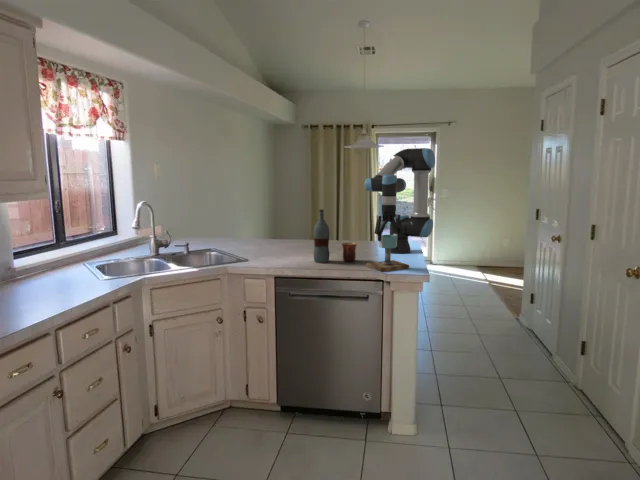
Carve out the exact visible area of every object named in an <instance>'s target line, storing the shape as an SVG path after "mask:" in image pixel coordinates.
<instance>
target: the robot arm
mask: <svg viewBox="0 0 640 480" xmlns="http://www.w3.org/2000/svg"><path fill="white" fill-rule="evenodd" d="M435 164H436V157H435V153H434V151H433V150H432V148H428V147H420V148H418V147H417V148H405V149H402V150H399V151H398V152H396V153H395V154H393V155H392V156H391V157H390V158H389V160H388V163H387V164H385V165H384V166H383V167H382V169H380V170H379V171H378V173H377V174H375V175H374V177H367V178H366V179H365V180H364V189H365V191H367V192H372V193H373V192H377V193H378V192H381V214H380V215H376V223H375V227H374V234H375V235H377V242H378V248H382V249H384V248H383V235H384V234H383V232H384V230H385V228H386V224H388V223H389V235H395V236H397V242H396V248H391V254H401V255H402V254H410V253H411V246H410V243H409V237H415V238H428V237H430V236H431V233H432V232H433V227H434V220H433V219H432V218H431V215H430V214H429V211H428V206H429V205H428V204H429V178H430V177H429V174H430V173H431V172H432V169H433V168H435ZM402 169H411V172H412V173H413V175H414V177H413V204H412V205H413V206H412V207H413V208H412V209H413V212H412V214H411V215H409V214H408V215H407V214H403V215H401V214H398V213H396V211H397V205H396V204H397V193H401V192H403V191H405V190H406V187H407V182H406V181H405V180H404V179H403V178H400V177H397V175H396V174H397V172H399V171H401V170H402Z"/></svg>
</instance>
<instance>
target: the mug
mask: <svg viewBox="0 0 640 480" xmlns="http://www.w3.org/2000/svg"><path fill="white" fill-rule="evenodd" d="M357 245H358V243H356V242H351V241H350V242H342V243H341V247H342V260H343V262H344V263H353V262H354V263H355V262H356V257H357V255H356V254H357V252H356V251H357Z"/></svg>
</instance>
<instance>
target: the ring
mask: <svg viewBox="0 0 640 480" xmlns="http://www.w3.org/2000/svg"><path fill="white" fill-rule="evenodd" d="M382 235H383V248H382V249H385V248H396V242H397V236H395V235H390V234H382Z"/></svg>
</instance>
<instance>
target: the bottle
mask: <svg viewBox="0 0 640 480" xmlns="http://www.w3.org/2000/svg"><path fill="white" fill-rule="evenodd" d="M318 210H319V211H318V214H319V215H318V220H317V222H316V224H314V226H313V227H314V228H313V241H314V244H313V245H314V248H313V261H314V263H316V264H327V263H328V262H330V249H329V245H330V244H329V243H330V228H329V225H328V224H327V222H326V221H325V219H324V218H325V217H324V216H325V215H324V209H321V208H320V209H318Z"/></svg>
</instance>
